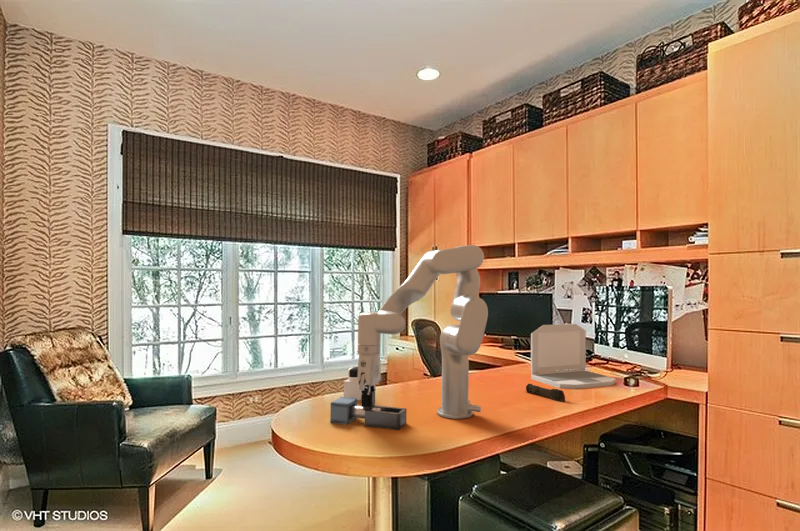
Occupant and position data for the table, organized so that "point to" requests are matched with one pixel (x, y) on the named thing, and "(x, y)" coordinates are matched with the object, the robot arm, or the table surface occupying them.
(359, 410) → the sliding bolt
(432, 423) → the table surface
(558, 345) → the laptop
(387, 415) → the sleeve
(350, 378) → the medicine bottle
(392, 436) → the table surface
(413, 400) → the table surface
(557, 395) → the hand tool
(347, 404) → the socket block
